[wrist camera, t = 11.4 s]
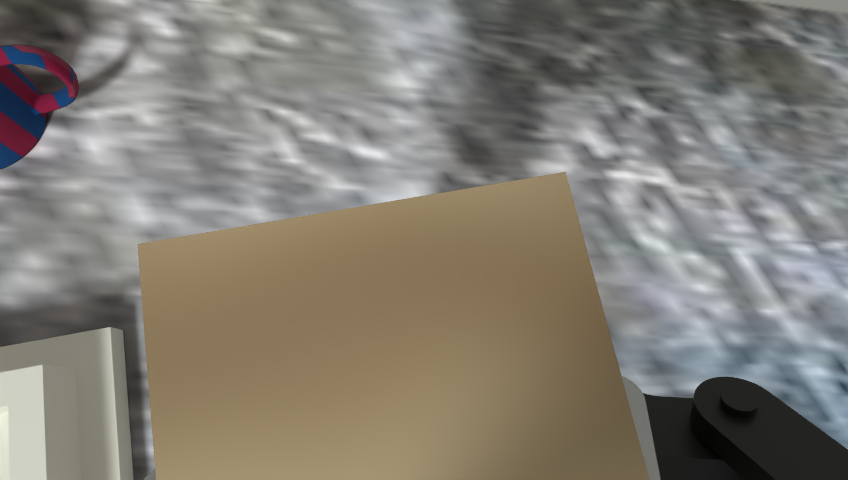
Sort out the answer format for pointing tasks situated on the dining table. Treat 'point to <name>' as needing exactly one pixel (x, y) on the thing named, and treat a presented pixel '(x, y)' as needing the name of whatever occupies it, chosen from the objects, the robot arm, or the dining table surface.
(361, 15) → the dining table surface
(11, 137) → the mug
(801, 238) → the dining table surface
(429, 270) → the oak bar
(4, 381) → the socket stand
